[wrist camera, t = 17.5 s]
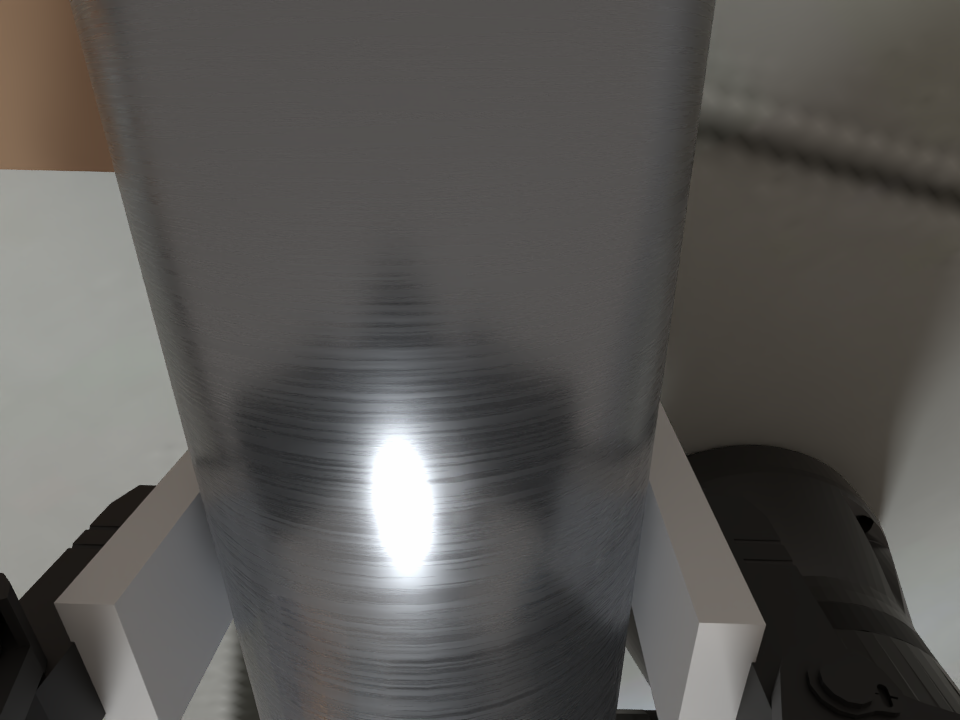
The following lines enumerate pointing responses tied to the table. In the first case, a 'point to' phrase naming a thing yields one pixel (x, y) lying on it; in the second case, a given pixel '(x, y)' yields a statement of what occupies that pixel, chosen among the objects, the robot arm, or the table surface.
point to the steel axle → (412, 325)
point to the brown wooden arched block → (47, 92)
